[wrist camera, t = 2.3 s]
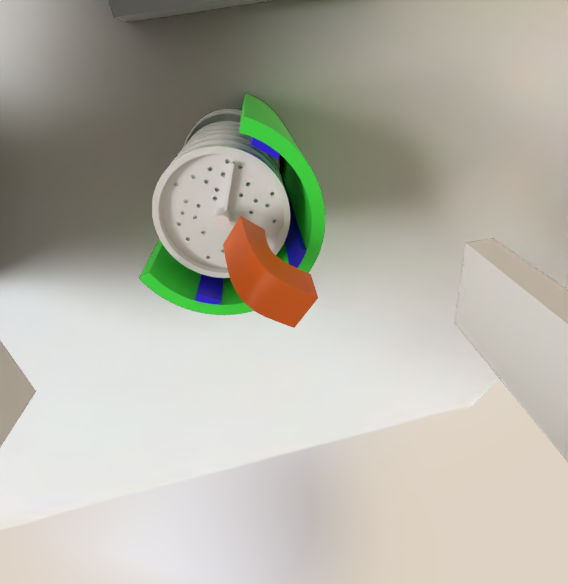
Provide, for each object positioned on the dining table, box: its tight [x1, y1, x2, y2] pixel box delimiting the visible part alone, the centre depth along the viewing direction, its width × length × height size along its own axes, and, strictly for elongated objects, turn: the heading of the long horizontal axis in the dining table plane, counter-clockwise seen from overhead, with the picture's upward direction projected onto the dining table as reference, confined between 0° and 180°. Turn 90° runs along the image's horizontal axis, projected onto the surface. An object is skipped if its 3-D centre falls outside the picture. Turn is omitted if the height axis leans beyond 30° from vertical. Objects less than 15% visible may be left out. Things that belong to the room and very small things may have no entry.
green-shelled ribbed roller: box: [139, 93, 325, 327], centre depth 21 cm, size 9×8×18 cm
